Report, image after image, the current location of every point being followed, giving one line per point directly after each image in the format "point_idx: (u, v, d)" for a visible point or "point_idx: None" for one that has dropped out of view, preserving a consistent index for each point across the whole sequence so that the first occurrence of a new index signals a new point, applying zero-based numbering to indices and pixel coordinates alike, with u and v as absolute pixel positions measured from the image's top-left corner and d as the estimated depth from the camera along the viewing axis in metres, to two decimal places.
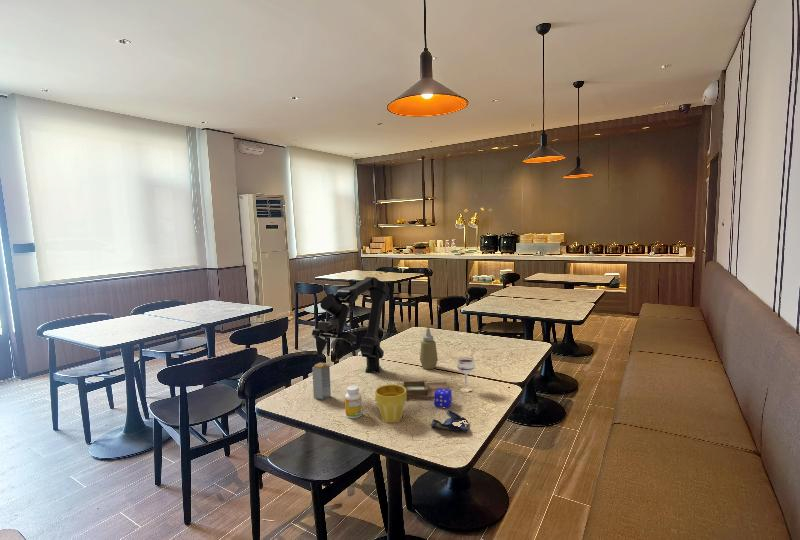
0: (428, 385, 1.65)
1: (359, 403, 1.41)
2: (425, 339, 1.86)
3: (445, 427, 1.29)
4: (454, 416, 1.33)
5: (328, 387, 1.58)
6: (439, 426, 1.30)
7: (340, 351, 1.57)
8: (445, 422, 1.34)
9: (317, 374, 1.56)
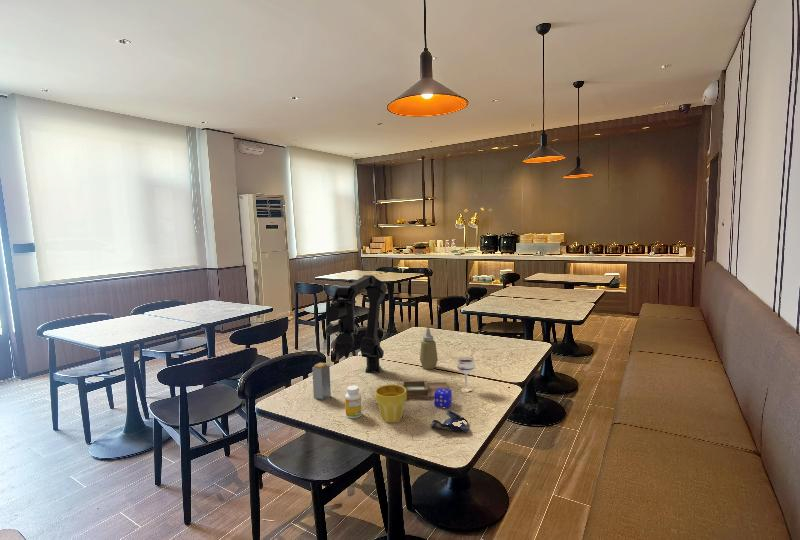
0: (428, 385, 1.65)
1: (359, 403, 1.41)
2: (425, 339, 1.86)
3: (445, 427, 1.29)
4: (454, 416, 1.33)
5: (328, 387, 1.58)
6: (439, 426, 1.30)
7: (344, 351, 1.62)
8: (445, 422, 1.34)
9: (317, 374, 1.56)
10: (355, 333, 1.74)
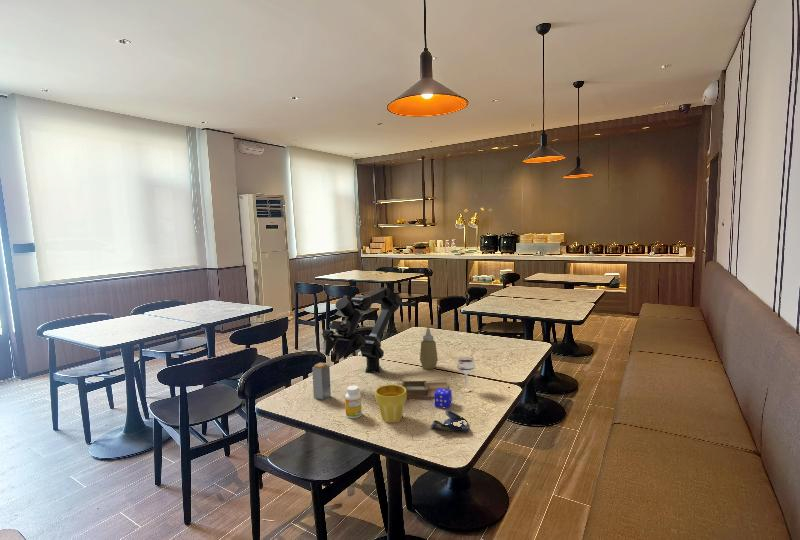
0: (428, 385, 1.65)
1: (359, 403, 1.41)
2: (425, 339, 1.86)
3: (446, 428, 1.29)
4: (454, 416, 1.33)
5: (328, 387, 1.58)
6: (440, 427, 1.29)
7: (348, 351, 1.63)
8: (445, 423, 1.34)
9: (317, 374, 1.56)
10: None
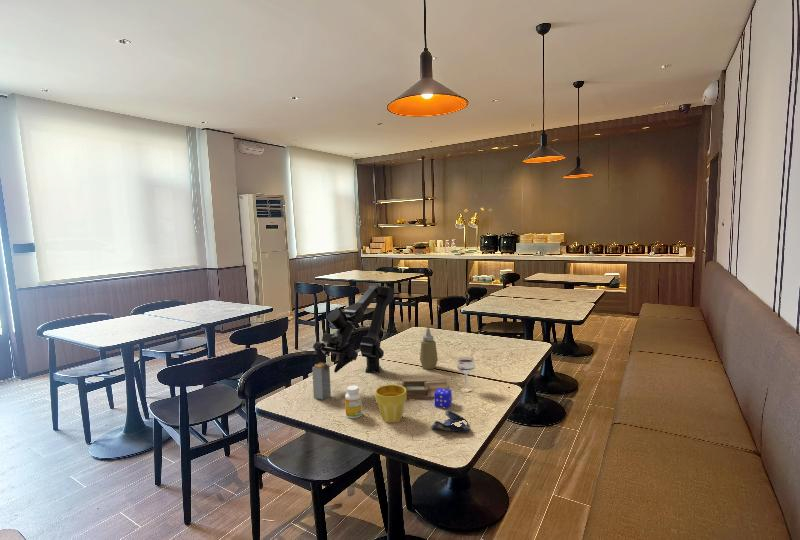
0: (428, 385, 1.65)
1: (359, 403, 1.41)
2: (425, 339, 1.86)
3: (447, 428, 1.28)
4: (454, 416, 1.33)
5: (328, 387, 1.58)
6: (441, 427, 1.29)
7: (339, 364, 1.58)
8: (445, 423, 1.34)
9: (317, 374, 1.56)
10: None
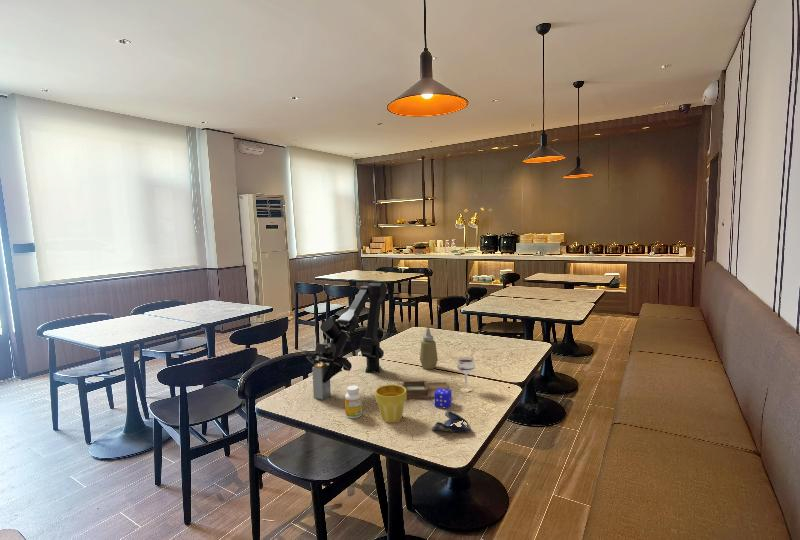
0: (428, 385, 1.65)
1: (359, 403, 1.41)
2: (425, 339, 1.86)
3: (448, 429, 1.28)
4: (454, 417, 1.33)
5: (328, 387, 1.58)
6: (442, 428, 1.28)
7: (328, 375, 1.56)
8: (445, 424, 1.33)
9: (317, 374, 1.56)
10: None
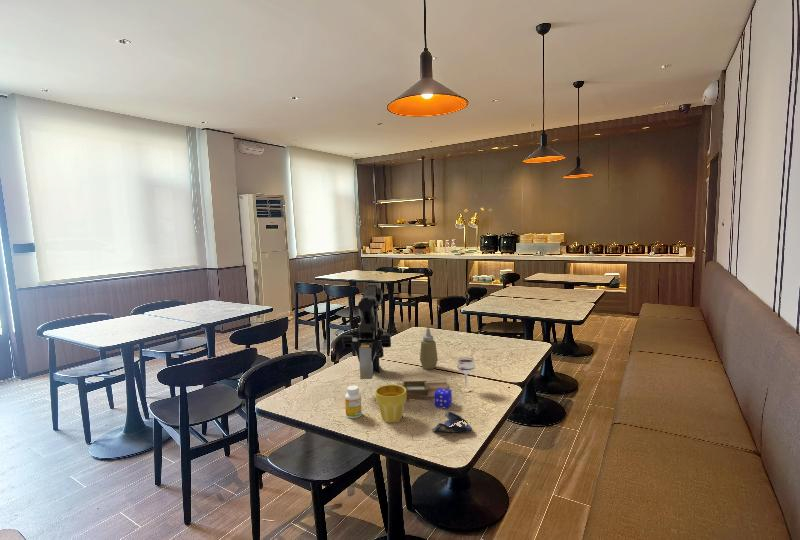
0: (428, 385, 1.65)
1: (359, 403, 1.41)
2: (425, 339, 1.86)
3: (450, 429, 1.27)
4: (454, 417, 1.33)
5: (372, 366, 1.61)
6: (443, 429, 1.28)
7: (375, 353, 1.59)
8: (445, 424, 1.33)
9: (365, 354, 1.57)
10: None
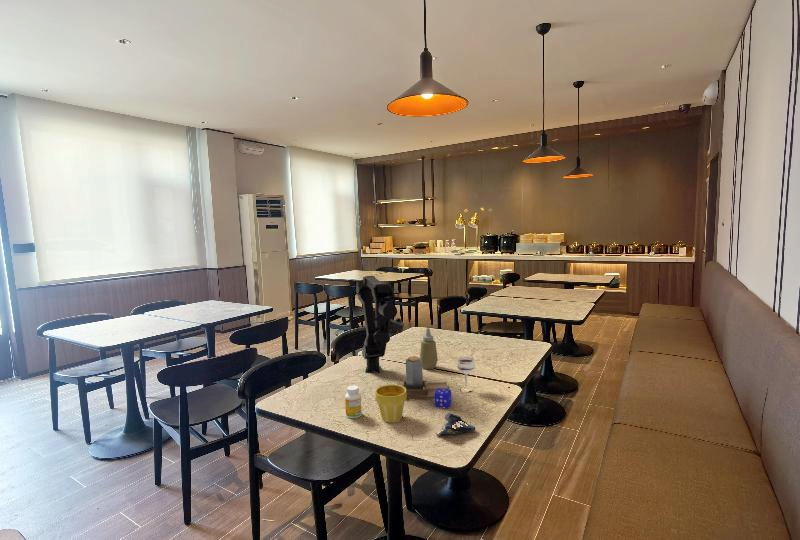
0: (428, 385, 1.65)
1: (359, 403, 1.41)
2: (425, 339, 1.86)
3: (455, 431, 1.26)
4: (454, 419, 1.32)
5: None
6: (449, 432, 1.26)
7: None
8: (446, 427, 1.31)
9: (417, 367, 1.57)
10: None
